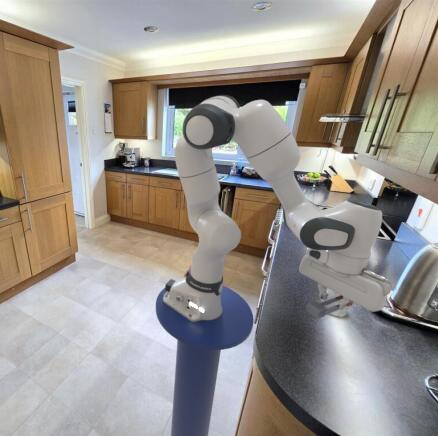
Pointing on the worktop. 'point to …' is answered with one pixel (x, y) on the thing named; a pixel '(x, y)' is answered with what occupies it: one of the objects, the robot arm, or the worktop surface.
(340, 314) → the white cup
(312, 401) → the worktop surface
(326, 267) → the robot arm
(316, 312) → the tongs
